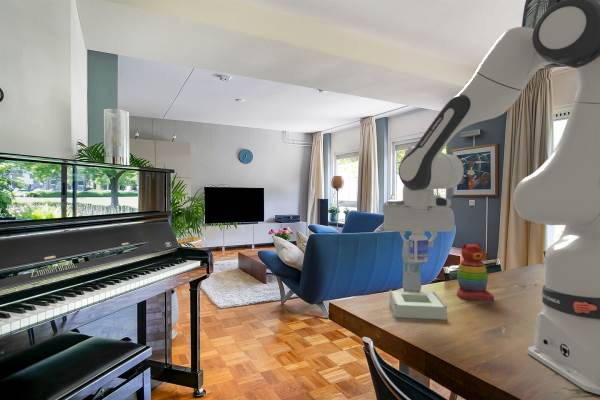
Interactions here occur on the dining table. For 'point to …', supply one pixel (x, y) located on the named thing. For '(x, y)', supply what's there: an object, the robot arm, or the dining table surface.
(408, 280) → the bottle
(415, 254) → the pill bottle
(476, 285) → the stacking bear
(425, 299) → the holed board
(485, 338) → the dining table surface
